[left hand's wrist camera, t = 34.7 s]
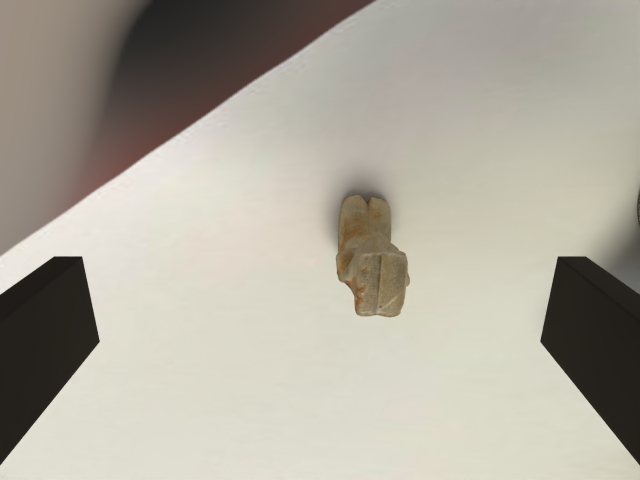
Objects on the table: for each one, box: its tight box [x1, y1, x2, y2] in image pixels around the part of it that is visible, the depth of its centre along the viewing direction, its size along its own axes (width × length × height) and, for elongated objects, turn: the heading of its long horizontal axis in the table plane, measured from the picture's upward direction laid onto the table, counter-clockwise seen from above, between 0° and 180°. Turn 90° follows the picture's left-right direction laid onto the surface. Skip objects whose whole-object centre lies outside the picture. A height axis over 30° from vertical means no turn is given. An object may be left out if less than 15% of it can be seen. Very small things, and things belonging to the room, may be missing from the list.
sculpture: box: [336, 195, 410, 317], centre depth 37 cm, size 6×7×15 cm
